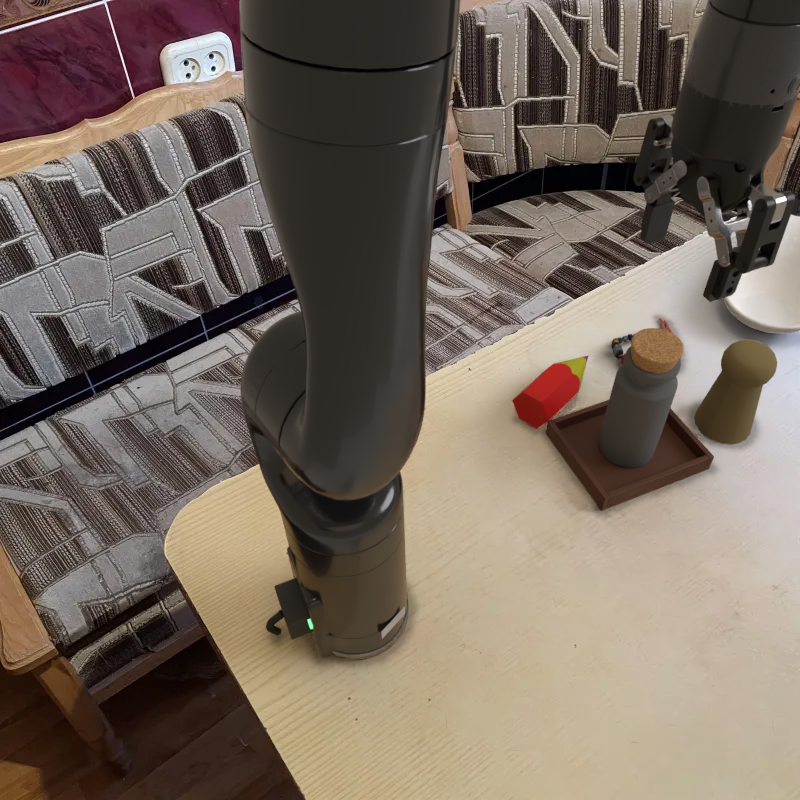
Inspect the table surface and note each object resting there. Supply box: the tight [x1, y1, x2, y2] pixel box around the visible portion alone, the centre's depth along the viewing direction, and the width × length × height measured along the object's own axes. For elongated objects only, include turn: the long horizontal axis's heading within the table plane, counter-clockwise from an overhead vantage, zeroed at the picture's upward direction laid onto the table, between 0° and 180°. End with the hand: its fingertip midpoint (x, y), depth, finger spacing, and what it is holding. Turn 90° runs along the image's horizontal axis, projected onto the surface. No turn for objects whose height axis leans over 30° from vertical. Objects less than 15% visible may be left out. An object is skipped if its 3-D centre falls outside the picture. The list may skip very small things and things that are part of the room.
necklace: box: [610, 317, 682, 366], centre depth 91 cm, size 8×11×2 cm
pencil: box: [511, 355, 589, 430], centre depth 85 cm, size 5×12×4 cm, turn 138°
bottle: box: [599, 327, 685, 468], centre depth 75 cm, size 6×6×15 cm
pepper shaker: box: [693, 339, 778, 445], centre depth 80 cm, size 6×6×11 cm
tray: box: [544, 399, 715, 512], centre depth 80 cm, size 13×11×2 cm
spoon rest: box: [722, 214, 800, 334], centre depth 96 cm, size 24×12×7 cm, turn 155°
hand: (682, 267), depth 63 cm, fingers open, 8 cm apart
